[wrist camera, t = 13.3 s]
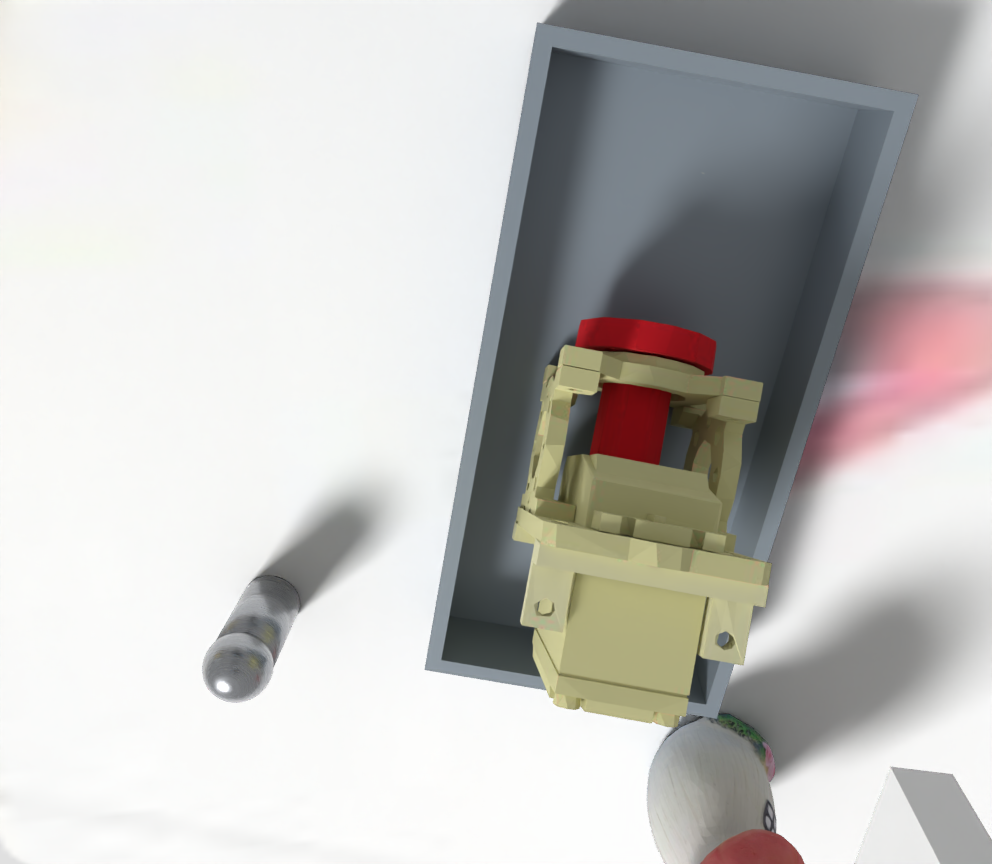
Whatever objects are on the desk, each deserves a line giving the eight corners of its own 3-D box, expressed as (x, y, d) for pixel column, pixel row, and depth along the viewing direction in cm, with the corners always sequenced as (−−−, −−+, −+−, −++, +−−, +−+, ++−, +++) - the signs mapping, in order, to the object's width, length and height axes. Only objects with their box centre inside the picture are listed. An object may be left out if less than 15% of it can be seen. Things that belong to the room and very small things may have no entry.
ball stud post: (244, 569, 46) (193, 652, 39) (304, 579, 46) (265, 664, 39) (239, 621, 47) (190, 711, 40) (299, 631, 47) (259, 722, 41)
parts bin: (536, 30, 37) (537, 22, 32) (874, 94, 37) (918, 94, 33) (434, 618, 47) (424, 670, 43) (699, 663, 47) (716, 718, 43)
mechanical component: (694, 319, 47) (870, 206, 27) (636, 647, 46) (774, 782, 26) (550, 291, 47) (619, 155, 27) (489, 620, 46) (513, 736, 26)
